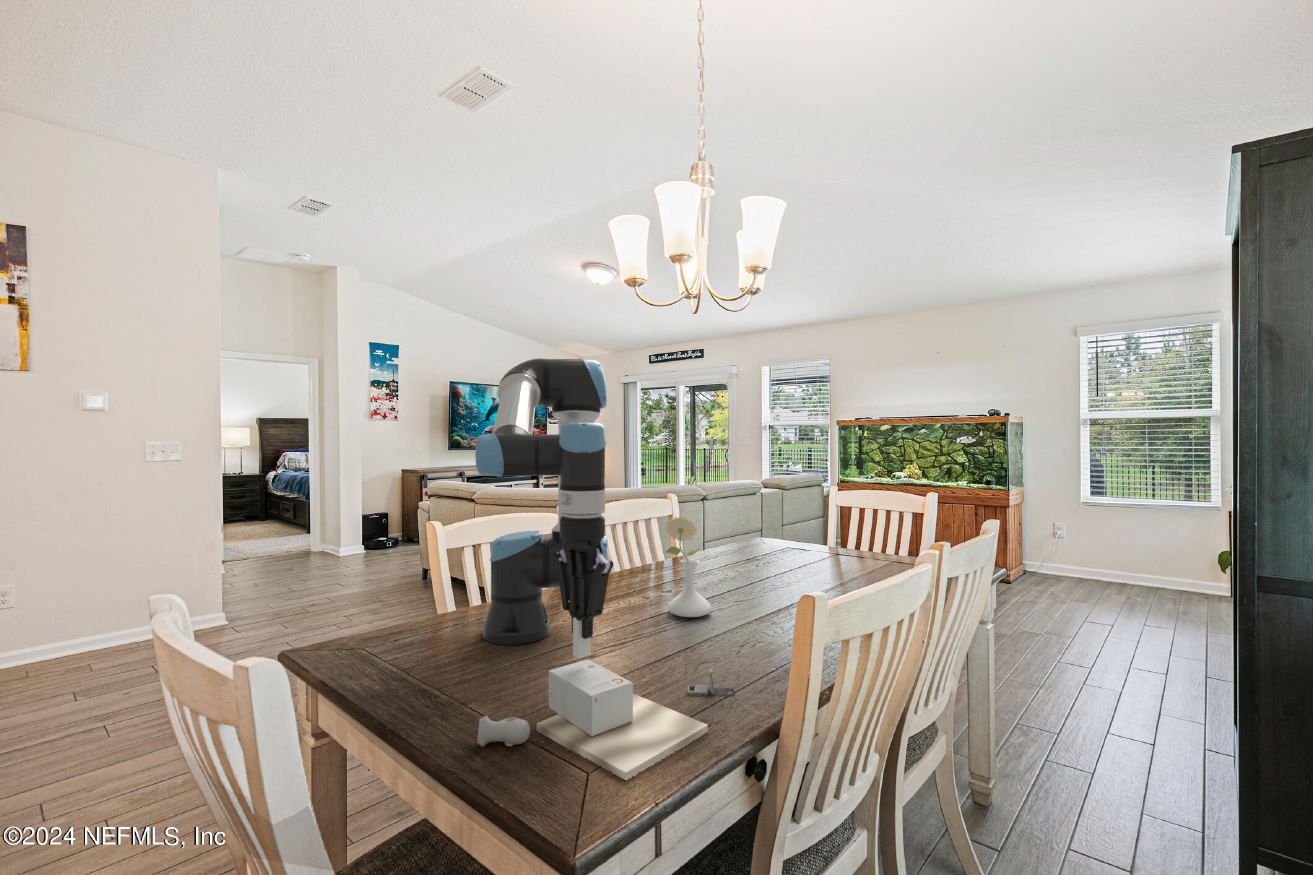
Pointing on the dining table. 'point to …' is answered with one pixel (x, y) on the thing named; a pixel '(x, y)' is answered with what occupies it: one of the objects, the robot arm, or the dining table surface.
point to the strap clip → (704, 690)
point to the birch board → (629, 738)
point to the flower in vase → (686, 572)
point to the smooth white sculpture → (503, 731)
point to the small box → (591, 697)
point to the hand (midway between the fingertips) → (582, 655)
